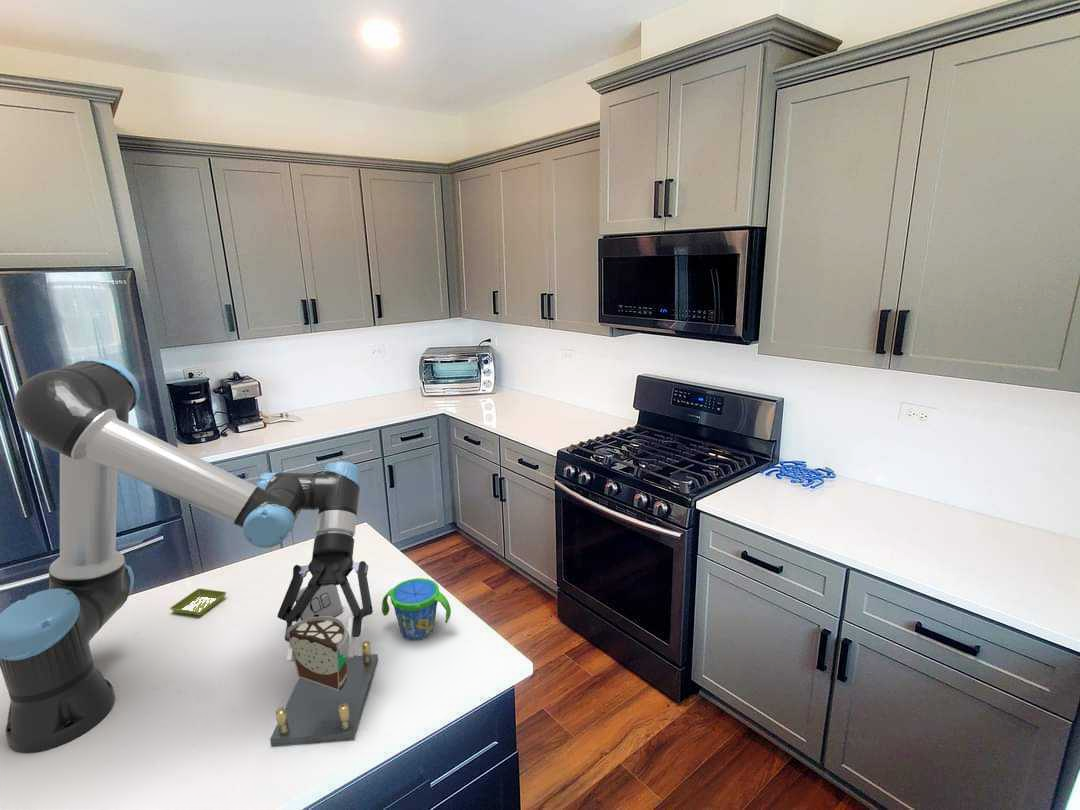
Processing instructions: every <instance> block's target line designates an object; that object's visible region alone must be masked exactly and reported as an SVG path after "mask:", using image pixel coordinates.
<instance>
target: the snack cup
mask: <svg viewBox="0 0 1080 810" xmlns="http://www.w3.org/2000/svg"><path fill="white" fill-rule="evenodd" d="M388 597H390V602H391V604H392V606H393V608H394V613H395V616H396V620H397V624H398V627H399V631H400V633H401V635H402V637H403V638H405V639H409V640H421V641H422V640H423V639H424V638H425V637H428V636H429V635H430V634H431V633H433V632H434V631H435V630H434V629H435V627H436V617H437V607H438V602H439V603H440V604H441V606H442V607H443V608H444V610H445V621H444V623H445V624H447V623H448V621H449V620H450V618H451V613H452V609H451V606H450V605H451V604H450V603H449V601H448V598H447V597H446V596H445V595H444V593H442V592H441V591H440V588H439V585H438V583H437V582H435V581H433V580H431V579H429V578H425V577H424V578H423V577H420V578H419V577H418V578H411V579H407V580H404V581H402V582H400V583H397V585H396V586H394V587H393V588H391V589H390V590H388V591H387V592H386V593H385V595H384V597H383V598H382V602H381V611H382V615H383V616H384V617H386V616H387V615H388V614H389V612H390V606H389V602H388Z"/></svg>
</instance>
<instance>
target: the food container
mask: <svg viewBox="0 0 1080 810" xmlns="http://www.w3.org/2000/svg"><path fill="white" fill-rule="evenodd" d="M297 622H298V623H296V624H294V625H292V626H291V627H289V628H288V629H287V632H286V631H285V633H286V638H288V637H289V641H290V645H291V648H293V655H294V661H295V662H294V665H295V668H296V673H297V676H298V679H299V678H302V679H305V680H307V681H310V682H313V683H316V684H319V685H322V686H325V687H328V688H331V689H334V690H337V691H340V690H341V689H342V688H343V686H344V684H345V682H346V680H347V661H346V648H347V647H348V644H349V641H350V636H349V633H348V630H347V629H348V627H346V625H345V623H344V622H343V621H342V620H341V619H338V618H337V617H335V616H334V617H328V616H320V617H315V616H314V617H313V618H309V619H305V620H303V621H301V620H300V621H297Z"/></svg>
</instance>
